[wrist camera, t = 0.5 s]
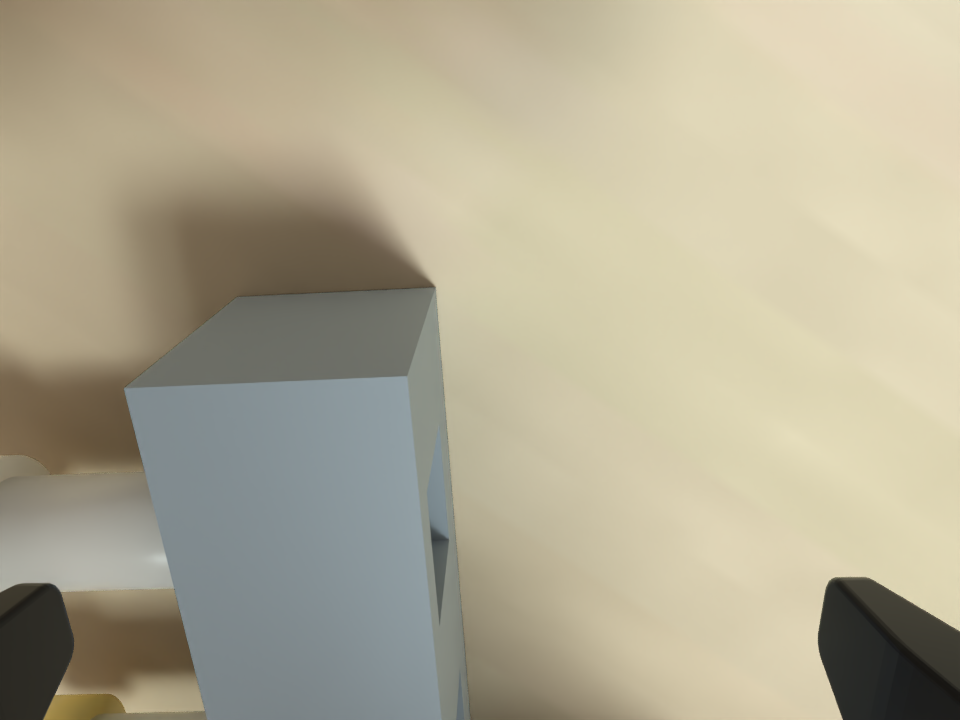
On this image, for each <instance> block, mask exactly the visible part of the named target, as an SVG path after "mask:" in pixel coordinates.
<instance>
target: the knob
mask: <svg viewBox="0 0 960 720" xmlns="http://www.w3.org/2000/svg"><path fill="white" fill-rule="evenodd" d="M20 583H51V584H53V585H55V586H57V588H58V589H59V590H60V592H75V591H108V590H141V589H173V588H174V586H173V582H172V578H171V574H170V570H169V566H168V562H167V558H166V554H165V550H164V546H163V542H162V538H161V534H160V530H159V526H158V522H157V518H156V514H155V511H154V507H153V503H152V499H151V495H150V491H149V487H148V483H147V479H146V475H145V471H143V472H117V473H90V474H64V475H51V474H50V473H49V471H48V470H47V469H46V468H45V467H44V466H43V465H42V464H41V463H40V462H38V461H37V460H35V459H33V458H31V457H28V456H23V455H7V456H0V592H2V591H4V590H6V589H8V588H10V587H12V586H14V585H16V584H20Z"/></svg>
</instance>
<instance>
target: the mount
mask: <svg viewBox="0 0 960 720" xmlns="http://www.w3.org/2000/svg"><path fill="white" fill-rule="evenodd" d="M124 392H125V396H126V400H127V404H128V407H129V411H130V415H131V419H132V423H133V427H134V431H135V435H136V439H137V443H138V447H139V451H140V455H141V459H142V463H143V467H144V471H145V475H146V479H147V483H148V487H149V491H150V495H151V499H152V503H153V507H154V511H155V514H156V518H157V522H158V526H159V530H160V534H161V538H162V542H163V546H164V550H165V554H166V558H167V562H168V566H169V570H170V574H171V578H172V582H173V586H174V590H175V594H176V598H177V602H178V606H179V610H180V614H181V618H182V621H183V625H184V629H185V633H186V637H187V641H188V645H189V649H190V653H191V657H192V661H193V665H194V669H195V673H196V677H197V681H198V685H199V689H200V693H201V697H202V701H203V705H204V709H205V713H206V717H207V720H470V707H469V695H468V683H467V670H466V658H465V646H464V633H463V621H462V609H461V596H460V584H459V572H458V559H457V547H456V535H455V522H454V510H453V498H452V485H451V473H450V461H449V448H448V436H447V424H446V411H445V399H444V387H443V374H442V362H441V350H440V337H439V325H438V313H437V300H436V288H435V287H430V288H410V289H389V290H368V291H348V292H327V293H306V294H286V295H265V296H245V297H236V298H235V299H234V300H232V301H231V302H230V303H229V304H228V305H226V306H225V307H224V308H223V309H221V310H220V311H219V312H218V313H216V314H215V315H214V316H213V317H211V318H210V319H209V320H208V321H206V322H205V323H204V324H203V325H202V326H200V327H199V328H198V329H197V330H195V331H194V332H193V333H192V334H190V335H189V336H188V337H187V338H185V339H184V340H183V341H182V342H180V343H179V344H178V345H177V346H176V347H174V348H173V349H172V350H171V351H169V352H168V353H167V354H166V355H164V356H163V357H162V358H161V359H159V360H158V361H157V362H156V363H154V364H153V365H152V366H151V367H150V368H148V369H147V370H146V371H145V372H143V373H142V374H141V375H140V376H138V377H137V378H136V379H135V380H133V381H132V382H131V383H130V384H128V385H127V386H126V387H125V388H124Z"/></svg>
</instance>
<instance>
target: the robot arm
mask: <svg viewBox="0 0 960 720" xmlns="http://www.w3.org/2000/svg"><path fill="white" fill-rule="evenodd" d="M818 647H819V653H820V657H821V660H822V663H823V665H824V668H825V671H826V674H827V677H828V679H829V682H830V685H831V688H832V691H833V693H834V696H835V699H836V702H837V705H838V707H839V710H840V713H841V716H842V719H843V720H960V631H958V630H957V629H955V628H953V627H951V626H950V625H948V624H946V623H945V622H943V621H941V620H940V619H938V618H936V617H935V616H933V615H931V614H930V613H928V612H926V611H924V610H923V609H921V608H919V607H918V606H916V605H914V604H913V603H911V602H909V601H908V600H906V599H904V598H903V597H901V596H899V595H897V594H896V593H894V592H892V591H891V590H889V589H887V588H886V587H884V586H882V585H881V584H879V583H877V582H876V581H874V580H872V579H870V578H866V577H835V578H833V579H831V580H830V581H829V582H828V584H827V587H826V590H825V596H824V602H823V608H822V613H821V619H820V625H819V631H818ZM73 649H74V638H73V633H72V630H71V626H70V623H69V619H68V616H67V612H66V609H65V605H64V602H63V598H62V595H61V592H60V590H59V589H58V588H57V586H55V585H53V584H51V583H20V584H16V585H14V586H12V587H10V588H8V589H6V590H4V591H2V592H0V720H43V719H44V717H45V715H46V713H47V711H48V708H49V706H50V704H51V702H52V700H53V698H54V695H55V693H56V691H57V689H58V687H59V685H60V682H61V680H62V678H63V676H64V674H65V672H66V669H67V667H68V665H69V663H70V660H71V658H72V654H73Z"/></svg>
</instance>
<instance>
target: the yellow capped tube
mask: <svg viewBox="0 0 960 720" xmlns="http://www.w3.org/2000/svg"><path fill="white" fill-rule="evenodd" d="M43 720H207V717H206V713H205V711H194V712H150V713H126V712H125V709H124V707H123V705H122V703H121V702H120V700H119V699H118V698H117V697H115V696H113V695H111V694H78V695H54V698H53V700H52V702H51V704H50V706H49V708H48V711H47V713H46V715H45V717H44V719H43Z"/></svg>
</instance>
